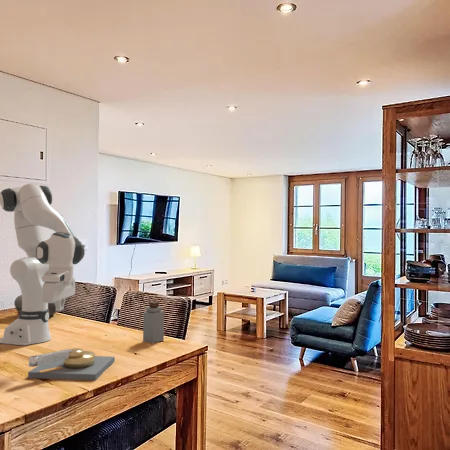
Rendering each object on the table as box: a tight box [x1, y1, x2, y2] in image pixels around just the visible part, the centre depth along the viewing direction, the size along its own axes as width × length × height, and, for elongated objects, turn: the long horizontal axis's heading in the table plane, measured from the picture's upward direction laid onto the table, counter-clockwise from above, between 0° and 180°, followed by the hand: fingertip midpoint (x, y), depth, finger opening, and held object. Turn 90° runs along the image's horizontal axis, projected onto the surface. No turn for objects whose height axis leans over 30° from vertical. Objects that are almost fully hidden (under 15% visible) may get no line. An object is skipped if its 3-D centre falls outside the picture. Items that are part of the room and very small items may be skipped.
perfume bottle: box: [142, 301, 165, 344], centre depth 193 cm, size 7×7×18 cm
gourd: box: [13, 294, 58, 317], centre depth 242 cm, size 25×25×17 cm
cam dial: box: [28, 348, 96, 368], centre depth 147 cm, size 24×11×6 cm, turn 136°
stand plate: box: [27, 355, 115, 381], centre depth 152 cm, size 24×20×2 cm
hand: (59, 310), depth 157 cm, fingers closed
